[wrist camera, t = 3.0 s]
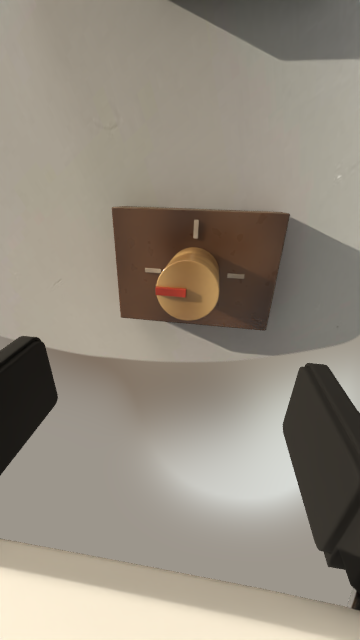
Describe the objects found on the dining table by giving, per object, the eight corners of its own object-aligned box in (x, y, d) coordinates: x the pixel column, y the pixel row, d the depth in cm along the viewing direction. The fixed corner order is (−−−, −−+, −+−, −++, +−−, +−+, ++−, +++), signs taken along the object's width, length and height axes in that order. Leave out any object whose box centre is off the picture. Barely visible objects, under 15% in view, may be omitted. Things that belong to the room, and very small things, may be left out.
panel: (281, 212, 21) (290, 213, 18) (261, 317, 26) (266, 331, 23) (124, 206, 23) (110, 207, 20) (130, 306, 27) (120, 318, 24)
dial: (221, 248, 20) (222, 263, 16) (216, 298, 22) (216, 325, 18) (169, 245, 21) (154, 259, 16) (168, 295, 23) (155, 320, 18)
